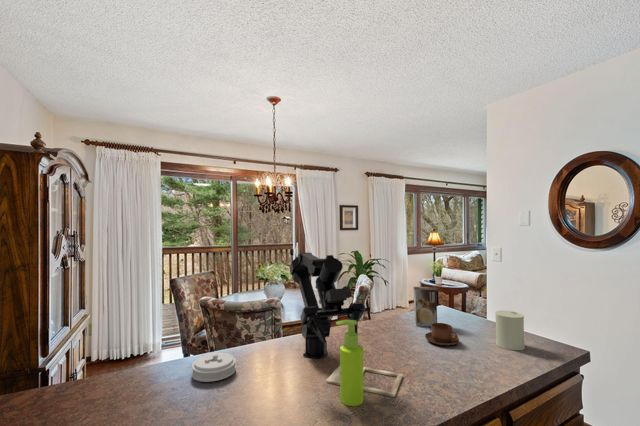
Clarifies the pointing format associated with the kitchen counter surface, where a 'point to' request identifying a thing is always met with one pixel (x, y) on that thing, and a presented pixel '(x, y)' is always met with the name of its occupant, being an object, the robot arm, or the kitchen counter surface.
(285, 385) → the kitchen counter surface
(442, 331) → the cup and saucer
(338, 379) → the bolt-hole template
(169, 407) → the kitchen counter surface
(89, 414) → the kitchen counter surface
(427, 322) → the coffee box
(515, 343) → the can
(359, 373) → the soap dispenser
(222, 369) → the lid
